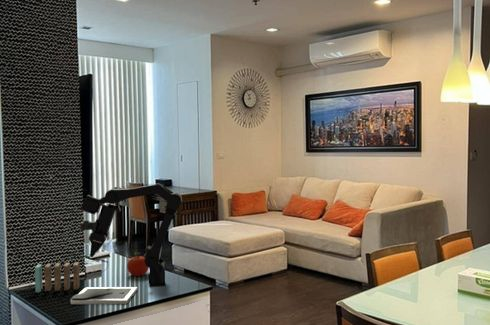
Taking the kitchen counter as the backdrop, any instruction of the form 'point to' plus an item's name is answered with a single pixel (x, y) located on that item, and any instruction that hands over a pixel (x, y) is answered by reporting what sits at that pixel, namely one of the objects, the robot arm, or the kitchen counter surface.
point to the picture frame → (104, 295)
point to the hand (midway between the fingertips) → (92, 254)
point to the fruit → (137, 265)
